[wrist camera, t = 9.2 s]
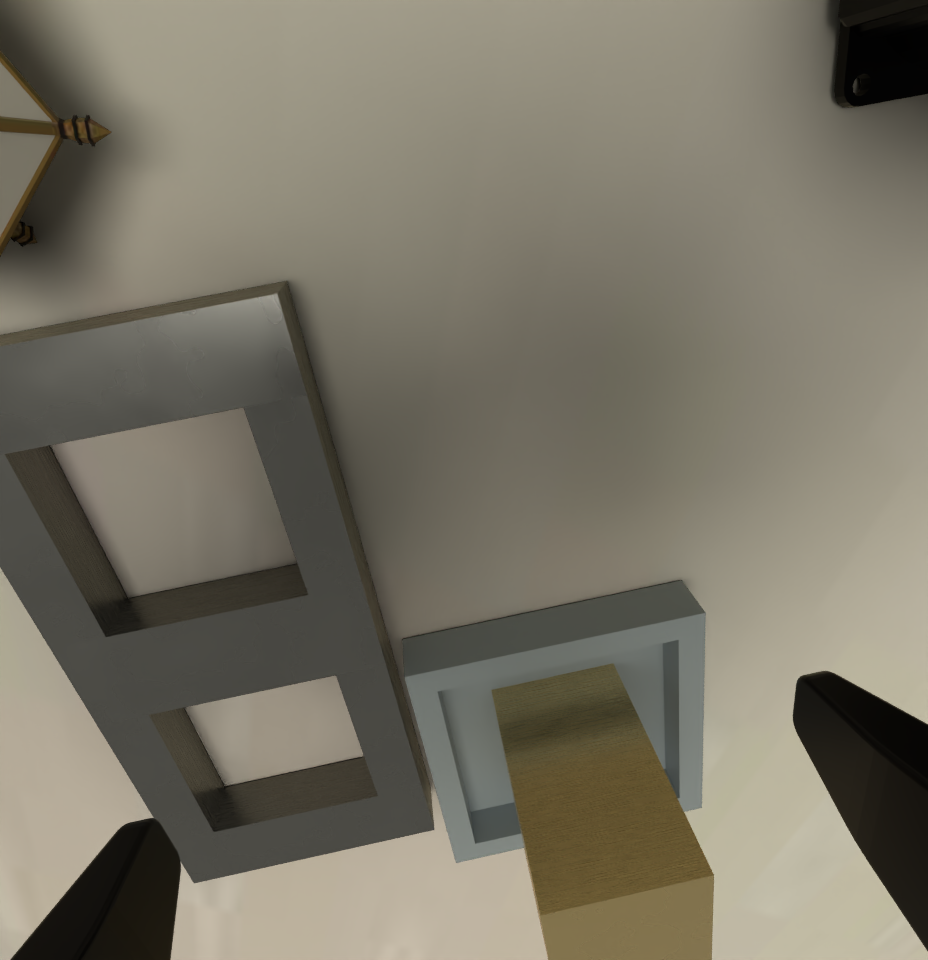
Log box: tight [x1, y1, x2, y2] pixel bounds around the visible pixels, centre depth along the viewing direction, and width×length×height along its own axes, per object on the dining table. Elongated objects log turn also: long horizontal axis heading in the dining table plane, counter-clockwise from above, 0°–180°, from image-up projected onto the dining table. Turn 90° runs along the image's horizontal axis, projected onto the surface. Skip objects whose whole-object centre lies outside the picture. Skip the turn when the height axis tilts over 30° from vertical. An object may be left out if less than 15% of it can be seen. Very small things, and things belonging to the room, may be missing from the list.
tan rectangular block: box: [491, 663, 714, 960], centre depth 23 cm, size 5×5×8 cm
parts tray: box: [402, 580, 706, 863], centre depth 26 cm, size 11×11×2 cm
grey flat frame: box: [0, 281, 434, 883], centre depth 22 cm, size 10×22×2 cm, turn 9°
